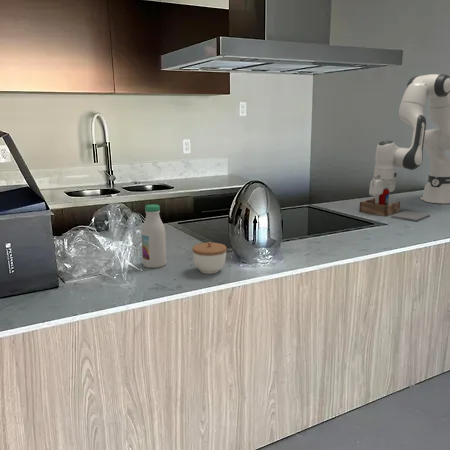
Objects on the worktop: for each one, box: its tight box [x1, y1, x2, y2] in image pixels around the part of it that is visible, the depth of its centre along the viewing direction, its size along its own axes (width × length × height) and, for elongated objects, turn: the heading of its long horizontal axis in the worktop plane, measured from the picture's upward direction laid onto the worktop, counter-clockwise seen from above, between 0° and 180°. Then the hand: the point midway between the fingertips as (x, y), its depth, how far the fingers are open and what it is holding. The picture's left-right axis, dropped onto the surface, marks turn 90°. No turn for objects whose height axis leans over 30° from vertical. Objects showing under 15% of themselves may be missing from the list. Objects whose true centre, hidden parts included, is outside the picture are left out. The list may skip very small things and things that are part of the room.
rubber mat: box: [390, 210, 431, 223], centre depth 219 cm, size 15×12×1 cm
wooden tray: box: [358, 197, 401, 217], centre depth 230 cm, size 14×14×5 cm
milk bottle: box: [141, 204, 167, 269], centre depth 151 cm, size 8×8×20 cm
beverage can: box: [373, 188, 390, 205], centre depth 230 cm, size 7×7×12 cm
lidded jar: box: [191, 241, 227, 275], centre depth 147 cm, size 11×11×9 cm
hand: (381, 202), depth 230 cm, fingers closed on beverage can, 7 cm apart
